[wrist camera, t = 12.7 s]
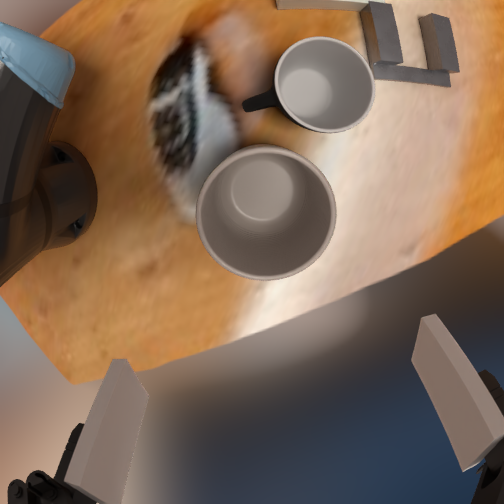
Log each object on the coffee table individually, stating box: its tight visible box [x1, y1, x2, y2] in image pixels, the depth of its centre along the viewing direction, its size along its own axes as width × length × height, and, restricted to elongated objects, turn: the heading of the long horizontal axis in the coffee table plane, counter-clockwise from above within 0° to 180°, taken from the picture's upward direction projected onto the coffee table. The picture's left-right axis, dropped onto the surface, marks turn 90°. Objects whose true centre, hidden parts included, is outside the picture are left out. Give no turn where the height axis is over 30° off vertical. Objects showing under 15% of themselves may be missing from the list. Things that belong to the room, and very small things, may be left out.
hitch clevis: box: [360, 1, 460, 87], centre depth 25 cm, size 12×10×4 cm
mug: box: [242, 37, 375, 133], centre depth 26 cm, size 12×9×10 cm
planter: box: [196, 144, 336, 281], centre depth 30 cm, size 12×12×11 cm
